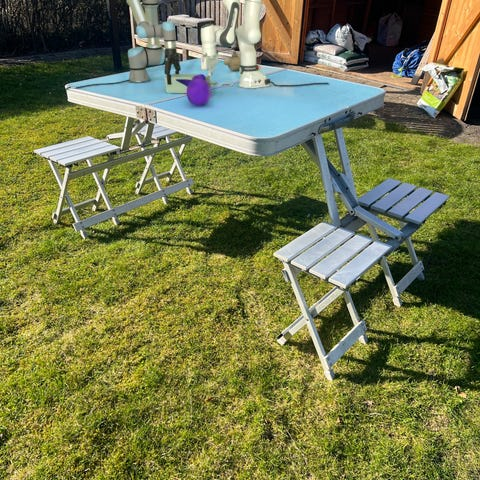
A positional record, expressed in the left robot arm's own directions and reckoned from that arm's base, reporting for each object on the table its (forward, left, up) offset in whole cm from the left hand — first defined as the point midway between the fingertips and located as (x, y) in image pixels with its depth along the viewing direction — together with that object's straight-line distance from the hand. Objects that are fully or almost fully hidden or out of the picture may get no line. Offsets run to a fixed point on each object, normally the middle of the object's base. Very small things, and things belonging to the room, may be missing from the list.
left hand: (173, 82), depth 304 cm
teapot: (+61, +58, -6) cm, 84 cm away
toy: (+6, -39, -6) cm, 40 cm away
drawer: (+15, -11, -4) cm, 19 cm away
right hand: (+22, -16, +6) cm, 28 cm away
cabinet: (+5, -4, -5) cm, 9 cm away
